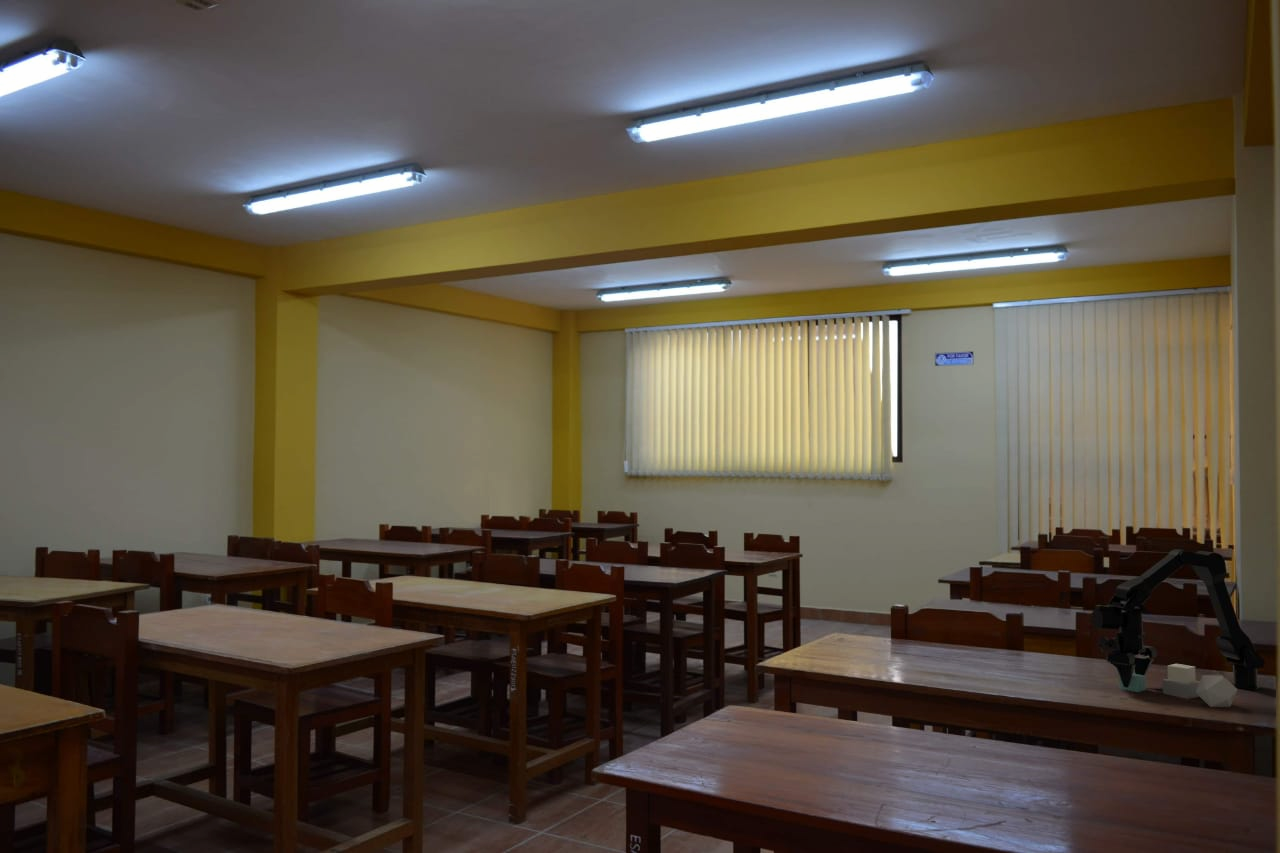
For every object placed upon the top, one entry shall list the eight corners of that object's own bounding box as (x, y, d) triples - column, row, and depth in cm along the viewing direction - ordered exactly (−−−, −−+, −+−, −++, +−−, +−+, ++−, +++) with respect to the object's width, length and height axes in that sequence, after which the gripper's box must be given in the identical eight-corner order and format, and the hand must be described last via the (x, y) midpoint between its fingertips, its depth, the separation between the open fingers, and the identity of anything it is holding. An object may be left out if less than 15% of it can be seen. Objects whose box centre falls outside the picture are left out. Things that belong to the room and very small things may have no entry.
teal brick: (1127, 686, 264) (1126, 672, 264) (1145, 690, 260) (1145, 675, 260) (1119, 689, 260) (1119, 675, 261) (1138, 692, 257) (1137, 678, 257)
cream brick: (1176, 678, 258) (1175, 663, 258) (1195, 681, 254) (1195, 666, 254) (1167, 680, 255) (1167, 665, 255) (1187, 683, 251) (1186, 668, 251)
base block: (1178, 691, 259) (1177, 677, 259) (1203, 696, 252) (1203, 682, 253) (1162, 694, 255) (1162, 679, 256) (1187, 699, 249) (1187, 684, 249)
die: (1236, 714, 236) (1247, 681, 239) (1203, 696, 237) (1214, 663, 241) (1217, 718, 243) (1228, 686, 247) (1185, 700, 245) (1197, 668, 248)
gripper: (1116, 622, 273) (1118, 675, 272) (1087, 628, 261) (1088, 684, 261) (1156, 627, 264) (1158, 682, 264) (1127, 634, 253) (1129, 692, 252)
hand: (1132, 685), depth 260 cm, fingers open, 8 cm apart
